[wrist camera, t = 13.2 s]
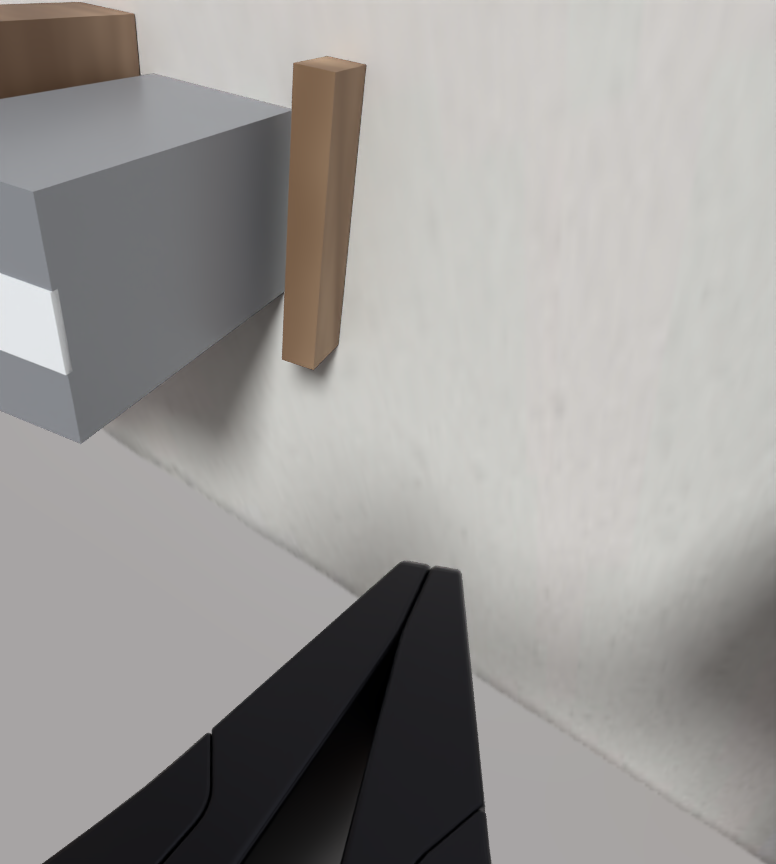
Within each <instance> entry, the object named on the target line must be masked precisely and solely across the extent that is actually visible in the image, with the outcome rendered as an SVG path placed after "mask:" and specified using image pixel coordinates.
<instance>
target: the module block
mask: <svg viewBox="0 0 776 864" xmlns="http://www.w3.org/2000/svg"><path fill="white" fill-rule="evenodd" d="M291 114H292V109H290V108H286V107H282V106H278V105H274V104H270V103H266V102H262V101H259V100H255V99H251V98H247V97H243V96H239V95H235V94H231V93H228V92H224V91H220V90H216V89H212V88H208V87H204V86H201V85H197V84H193V83H189V82H185V81H181V80H177V79H173V78H170V77H166V76H162V75H158V74H154V73H153V74H147V75H141V76H135V77H129V78H123V79H117V80H111V81H105V82H99V83H93V84H87V85H81V86H75V87H69V88H63V89H57V90H51V91H46V92H40V93H34V94H28V95H22V96H16V97H10V98H4V99H0V411H2V412H4V413H7V414H9V415H12V416H14V417H17V418H19V419H22V420H24V421H26V422H29V423H31V424H34V425H36V426H39V427H41V428H44V429H46V430H48V431H51V432H53V433H56V434H58V435H60V436H63V437H65V438H68V439H70V440H73V441H75V442H77V443H80V444H81V443H83V442H84V441H85V440H87V439H88V438H89V437H91V436H92V435H93V434H95V433H96V432H97V431H99V430H100V429H101V428H103V427H104V426H105V425H107V424H108V423H109V422H111V421H112V420H113V419H115V418H116V417H117V416H119V415H120V414H121V413H123V412H124V411H125V410H127V409H128V408H130V407H131V406H132V405H134V404H135V403H136V402H138V401H139V400H140V399H142V398H143V397H144V396H146V395H147V394H148V393H150V392H151V391H152V390H154V389H155V388H156V387H158V386H159V385H160V384H162V383H163V382H164V381H166V380H167V379H168V378H170V377H171V376H172V375H174V374H175V373H176V372H178V371H179V370H180V369H182V368H183V367H184V366H186V365H187V364H188V363H190V362H191V361H192V360H194V359H195V358H196V357H198V356H199V355H200V354H202V353H203V352H204V351H206V350H207V349H208V348H210V347H211V346H212V345H214V344H215V343H216V342H218V341H219V340H220V339H222V338H223V337H224V336H226V335H227V334H228V333H230V332H231V331H232V330H234V329H235V328H236V327H238V326H239V325H240V324H242V323H243V322H244V321H246V320H247V319H248V318H250V317H251V316H252V315H254V314H255V313H256V312H258V311H259V310H260V309H262V308H263V307H264V306H266V305H267V304H268V303H270V302H271V301H272V300H274V299H275V298H276V297H278V296H279V295H280V294H282V293H283V292H284V291H285V268H286V243H287V217H288V191H289V165H290V140H291Z"/></svg>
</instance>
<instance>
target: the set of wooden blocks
mask: <svg viewBox="0 0 776 864" xmlns="http://www.w3.org/2000/svg"><path fill="white" fill-rule="evenodd" d="M365 71H366V65H365V64H360V63H356V62H351V61H347V60H342V59H338V58H333V57H328V56H326V57H321V58H316V59H311V60H306V61H301V62H296V63H293V88H292V114H291V140H290V165H289V191H288V217H287V243H286V268H285V294H284V320H283V346H282V360H285V361H288V362H291V363H294V364H297V365H300V366H303V367H306V368H309V369H312V370H314V369H315V368H316V367H317V366H318V365H319V364H320V363H321V362H322V361H323V360H324V359H325V358H326V357H327V356H328V355H329V354H330V353H331V352H332V351H333V350H334V349H335V348H336V347H337V346H338V343H339V333H340V323H341V313H342V303H343V293H344V282H345V272H346V262H347V252H348V242H349V232H350V222H351V212H352V202H353V192H354V182H355V172H356V162H357V152H358V142H359V131H360V121H361V111H362V101H363V91H364V81H365ZM135 76H140V72H139V61H138V50H137V38H136V27H135V16H134V14H132V13H128V12H123V11H119V10H114V9H110V8H105V7H101V6H96V5H91V4H87V3H82V2H66V3H34V4H3V5H0V99H4V98H10V97H16V96H22V95H28V94H34V93H40V92H46V91H51V90H57V89H63V88H69V87H75V86H81V85H87V84H93V83H99V82H105V81H111V80H117V79H123V78H129V77H135Z"/></svg>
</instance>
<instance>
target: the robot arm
mask: <svg viewBox="0 0 776 864" xmlns="http://www.w3.org/2000/svg"><path fill="white" fill-rule="evenodd" d="M42 864H491V856H490V849H489V839H488V829H487V819H486V813H485V802H484V792H483V782H482V773H481V762H480V753H479V742H478V732H477V722H476V712H475V702H474V692H473V682H472V672H471V662H470V652H469V642H468V632H467V621H466V611H465V601H464V591H463V581H462V574H461V572H460V571H459V570H458V569H453V568H447V567H441V566H434V567H432V568H431V567H430V566H429V565H427V564H423V563H417V562H411V561H402V562H400V563H399V564H397V565H396V566H395V567H394V568H393V569H392V570H391V571H390V572H388V573H387V574H386V575H385V576H384V577H383V578H382V579H380V580H379V581H378V582H377V583H376V584H375V585H374V586H373V587H371V588H370V589H369V590H368V591H367V592H366V593H365V594H364V595H362V596H361V597H360V598H359V599H358V600H357V601H356V602H355V603H353V604H352V605H351V606H350V607H349V608H348V609H347V610H346V611H345V612H343V613H342V614H341V615H340V616H339V617H338V618H337V619H335V621H333V622H332V623H331V624H330V625H329V626H328V627H326V629H324V630H323V631H322V632H321V633H320V634H318V636H316V637H315V638H314V639H313V640H312V641H311V642H309V643H308V644H307V645H306V646H305V647H304V648H303V649H301V650H300V651H299V652H298V653H297V654H296V655H295V656H294V657H293V658H291V659H290V660H289V661H288V662H287V663H286V664H285V665H283V666H282V667H281V668H280V669H279V670H278V671H277V672H276V673H274V674H273V675H272V676H271V677H270V678H269V679H268V680H267V681H265V682H264V683H263V684H262V685H261V686H260V687H259V688H257V689H256V690H255V691H254V692H253V693H252V694H251V695H250V696H249V697H247V698H246V699H245V700H244V701H243V702H242V703H241V704H239V705H238V706H237V707H236V708H235V709H234V710H233V711H232V712H230V713H229V714H228V715H227V716H226V717H225V718H224V719H222V720H221V721H220V722H219V723H218V724H217V725H216V726H215V727H213V729H212V735H211V734H210V733H207V734H205V735H204V736H203V737H202V738H201V739H200V740H198V741H197V742H196V743H195V744H194V745H193V746H192V747H191V748H190V749H188V750H187V751H186V752H185V753H184V754H183V755H182V756H180V757H179V758H178V759H177V760H175V761H174V762H173V763H172V764H171V765H170V766H168V767H167V768H166V769H165V770H164V771H163V772H161V773H160V774H159V775H158V776H157V777H156V778H154V779H153V780H152V781H151V782H149V783H148V784H147V785H146V786H145V787H144V788H142V789H141V790H140V791H138V792H137V793H136V794H135V795H133V796H132V797H131V798H129V799H128V800H127V801H125V802H124V803H123V804H121V805H120V806H119V807H118V808H116V809H115V810H114V811H112V812H111V813H110V814H108V815H107V816H106V817H105V818H103V819H102V820H101V821H99V822H98V823H96V824H95V825H94V826H92V827H91V828H90V829H88V830H87V831H86V832H84V833H83V834H82V835H81V836H79V837H78V838H76V839H75V840H74V841H72V842H71V843H69V844H68V845H67V846H65V847H64V848H63V849H62V850H60V851H59V852H57V853H56V854H55V855H53V856H52V857H51V858H49V859H48V860H46V861H45V862H44V863H42Z"/></svg>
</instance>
